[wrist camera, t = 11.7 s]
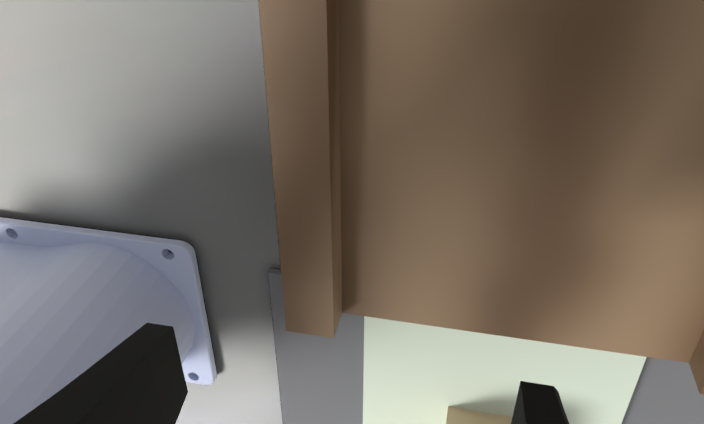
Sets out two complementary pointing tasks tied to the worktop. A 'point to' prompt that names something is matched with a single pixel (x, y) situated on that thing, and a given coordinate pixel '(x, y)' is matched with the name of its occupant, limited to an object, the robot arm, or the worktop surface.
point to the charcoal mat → (348, 366)
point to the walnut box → (492, 168)
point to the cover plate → (484, 376)
